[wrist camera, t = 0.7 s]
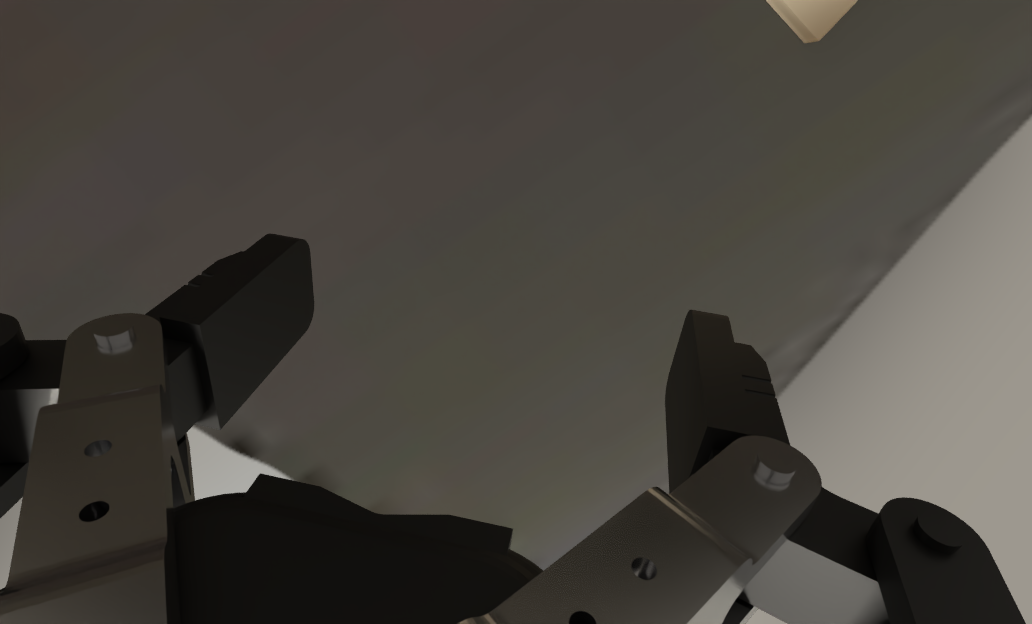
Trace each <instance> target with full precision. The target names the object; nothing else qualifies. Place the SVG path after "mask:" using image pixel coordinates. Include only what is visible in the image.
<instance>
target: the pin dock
mask: <svg viewBox="0 0 1032 624" xmlns="http://www.w3.org/2000/svg"><path fill="white" fill-rule="evenodd" d="M766 1H767V2H768V3H769V4H770V6H771V7H772V8H773V9H774V10H775V11H776V12H777V13H778V14H779V16H780V17H781V18H782V19H783V20H784V21H785V22H786V23H787V24H788V25H789V27H790V28H791V29H792V30H793V31H794V32H795V33H796V34H797V35H798V37H799V38H800V39H801V40H802V41H803V42H804V43H809V42H816V41H820V39H821V38H822V37H823V36H824V35H825V34H826V33H827V32H828V31H829V30H830V29H831V28H832V27H833V26H834V25H835V24H836V23H837V22H838V21H839V20H840V19H841V17H842V16H843V15H844V14H845V13H846V12H847V11H848V10H849V9H850V8H851V7H852V6H853V5H854V4H855V3H856V2H857V1H858V0H766Z"/></svg>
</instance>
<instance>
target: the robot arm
mask: <svg viewBox="0 0 1032 624" xmlns="http://www.w3.org/2000/svg"><path fill="white" fill-rule="evenodd" d="M313 312H314V295H313V282H312V269H311V257H310V249H309V245H308V243H307V242H306V241H305V240H303V239H298V238H293V237H287V236H282V235H276V234H267V235H265V236H264V237H263V238H261V239H260V240H259V241H257V242H256V243H255V244H253V245H252V246H251V247H250V248H248V249H247V250H246V251H244V252H243V251H241V252H238V253H236V254H233V255H231V256H228V257H225V258H223V259H220V260H218V261H216V262H215V263H214V264H212V265H211V266H210V267H208V268H207V269H206V270H204V271H203V272H202V274H201V275H198V276H196V277H195V278H194V279H192V280H191V281H189V282H188V285H184V286H183V287H181V288H180V289H179V290H177V291H176V292H175V293H173V294H172V295H171V296H169V297H168V298H167V299H165V300H164V301H163V302H161V303H160V304H159V305H157V306H156V307H155V308H153V309H152V310H150V311H149V312H148V313H146V314H145V315H143V314H135V313H123V314H115V315H109V316H105V317H101V318H98V319H95V320H92V321H90V322H87V323H85V324H83V325H82V326H80V327H78V328H77V329H76V330H74V331H73V332H72V333H71V334H70V335H69V337H68V338H67V340H25V337H24V335H23V332H22V330H21V327H20V324H19V322H18V321H17V319H15V318H14V317H12V316H10V315H7V314H2V313H0V518H1V517H2V516H3V515H4V514H5V513H6V512H7V511H8V510H9V509H10V508H11V507H13V506H14V504H16V503H17V502H18V501H19V499H21V498H22V497H23V499H22V506H21V511H20V517H19V522H18V527H17V533H16V539H15V544H14V550H13V556H12V561H11V567H10V573H9V578H8V582H7V585H6V587H5V588H3V589H1V590H0V624H746V623H747V621H748V620H749V619H750V618H751V616H752V615H753V614H754V613H755V612H756V611H757V609H758V608H759V609H761V610H763V611H764V612H766V613H768V614H770V615H772V616H774V617H776V618H778V619H780V620H782V621H784V622H786V623H788V624H1026V623H1025V621H1024V619H1023V617H1022V615H1021V613H1020V611H1019V609H1018V607H1017V605H1016V603H1015V601H1014V599H1013V597H1012V595H1011V593H1010V591H1009V590H1008V587H1007V585H1006V583H1005V581H1004V579H1003V577H1002V575H1001V573H1000V571H999V569H998V567H997V565H996V563H995V561H994V559H993V557H992V555H991V553H990V551H989V549H988V548H987V546H986V544H985V543H984V541H983V540H982V539H981V538H980V536H979V535H978V534H977V533H976V532H975V531H974V530H973V529H972V528H971V527H970V526H968V525H967V524H966V523H965V522H964V521H962V520H961V519H960V518H958V517H957V516H955V515H954V514H952V513H950V512H949V511H947V510H945V509H943V508H941V507H939V506H937V505H934V504H932V503H929V502H926V501H923V500H919V499H914V498H896V499H892V500H890V501H889V502H887V503H886V504H885V505H884V506H883V508H882V509H881V511H880V513H879V514H878V513H875V512H873V511H871V510H869V509H866V508H864V507H862V506H859V505H857V504H855V503H852V502H850V501H848V500H846V499H843V498H841V497H839V496H837V495H835V494H833V493H831V492H829V491H828V490H826V489H824V488H823V487H822V485H821V484H822V483H821V478H820V475H819V473H818V471H817V469H816V467H815V466H814V465H813V463H812V462H811V461H810V460H809V459H808V458H807V457H806V456H805V455H803V454H802V453H801V452H799V451H798V450H797V449H795V448H793V447H792V446H790V443H789V440H788V436H787V433H786V430H785V426H784V423H783V419H782V416H781V413H780V409H779V406H778V402H777V399H776V398H775V392H774V388H773V385H772V384H771V378H770V374H769V371H768V368H767V364H766V362H765V361H764V360H763V359H762V357H761V356H760V355H759V354H758V353H757V352H756V351H755V350H754V348H753V347H752V346H751V345H746V344H741V343H735V342H734V339H733V334H732V330H731V325H730V321H729V318H728V316H724V315H718V314H713V313H707V312H701V311H696V310H689V312H688V313H687V316H686V318H685V321H684V325H683V328H682V332H681V335H680V338H679V342H678V345H677V348H676V352H675V355H674V359H673V362H672V365H671V369H670V372H669V376H668V381H667V387H666V395H665V408H666V430H667V451H668V473H669V494H667V493H665V492H664V491H663V490H661V489H660V488H658V487H653V488H650V489H648V490H647V491H645V492H644V493H642V494H641V495H640V496H639V497H637V498H636V499H635V500H634V501H632V502H631V503H630V504H628V505H627V506H626V507H625V508H623V509H622V510H621V511H619V512H618V513H617V514H616V515H614V516H613V517H612V518H610V519H609V520H608V521H607V522H605V523H604V524H603V525H602V526H600V527H599V528H598V529H596V530H595V531H594V532H593V533H591V534H590V535H589V536H587V537H586V538H585V539H584V540H582V541H581V542H580V543H578V544H577V545H576V546H575V547H573V548H572V549H571V550H570V551H568V552H567V553H566V554H564V555H563V556H562V557H561V558H559V559H558V560H557V561H555V562H554V563H553V564H552V565H550V566H549V567H548V568H546V569H545V570H544V571H543V570H542V569H540V568H539V567H538V566H537V565H535V564H534V563H533V562H531V561H529V560H528V559H526V558H525V557H523V556H522V555H520V554H518V553H516V552H514V551H512V550H510V545H511V539H512V532H513V529H512V528H507V527H503V526H498V525H493V524H489V523H484V522H480V521H475V520H471V519H466V518H461V517H457V516H452V515H383V514H377V513H374V512H371V511H369V510H367V509H365V508H363V507H361V506H359V505H357V504H355V503H353V502H351V501H349V500H347V499H345V498H342V497H340V496H338V495H336V494H334V493H332V492H330V491H328V490H326V489H324V488H322V487H320V486H315V485H310V484H306V483H301V482H297V481H292V480H288V479H283V478H278V477H274V476H269V475H264V474H260V475H259V476H258V477H257V478H256V480H255V481H254V483H253V484H252V486H251V487H250V488H249V490H248V491H247V492H246V493H233V494H232V493H231V494H222V495H217V496H212V497H207V498H203V499H199V500H196V501H195V496H194V487H193V477H192V467H191V457H190V446H189V441H188V437H187V432H188V430H189V429H190V428H191V427H192V426H193V425H199V426H204V427H209V428H213V429H218V430H221V429H222V427H223V426H224V425H225V424H226V423H227V422H228V421H229V419H230V418H231V417H232V416H233V415H234V414H235V413H236V411H237V410H238V409H239V408H240V407H241V406H242V405H243V403H244V402H245V401H246V400H247V399H248V398H249V396H250V395H251V394H252V393H253V392H254V391H255V390H256V388H257V387H258V386H259V385H260V384H261V383H262V382H263V380H264V379H265V378H266V377H267V376H268V375H269V374H270V372H271V371H272V370H273V369H274V368H275V367H276V365H277V364H278V363H279V362H280V361H281V360H282V359H283V357H284V356H285V355H286V354H287V353H288V352H289V351H290V349H291V348H292V347H293V346H294V345H295V344H296V342H297V341H298V340H299V339H300V338H301V337H302V336H303V334H304V333H305V332H306V331H307V329H308V328H309V326H310V323H311V321H312V317H313Z"/></svg>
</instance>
